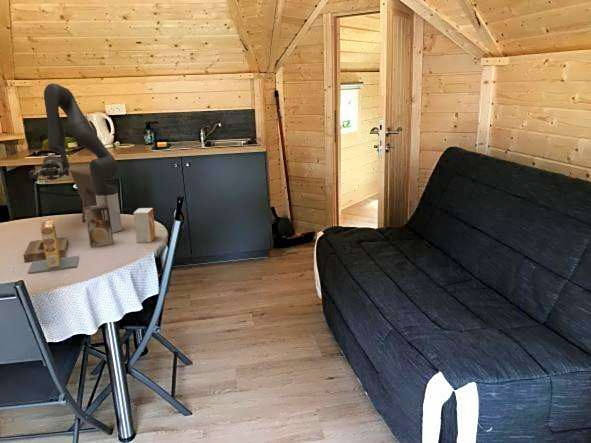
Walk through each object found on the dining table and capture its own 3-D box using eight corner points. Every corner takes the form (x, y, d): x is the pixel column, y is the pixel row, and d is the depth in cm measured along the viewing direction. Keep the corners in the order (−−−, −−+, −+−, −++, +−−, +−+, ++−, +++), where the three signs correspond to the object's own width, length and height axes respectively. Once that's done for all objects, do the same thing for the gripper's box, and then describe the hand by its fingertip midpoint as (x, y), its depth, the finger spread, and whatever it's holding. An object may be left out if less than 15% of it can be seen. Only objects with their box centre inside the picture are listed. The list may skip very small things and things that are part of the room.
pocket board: (68, 243, 202) (67, 236, 201) (65, 257, 185) (64, 249, 185) (31, 248, 197) (30, 241, 196) (24, 262, 181) (23, 254, 180)
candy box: (60, 266, 174) (53, 226, 170) (47, 268, 172) (40, 227, 168) (61, 258, 182) (54, 220, 178) (48, 260, 180) (41, 221, 176)
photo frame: (95, 211, 254) (87, 164, 247) (116, 217, 241) (108, 168, 233) (67, 217, 244) (58, 168, 237) (87, 224, 230) (79, 173, 223)
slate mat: (78, 256, 185) (78, 255, 185) (77, 267, 175) (76, 265, 174) (32, 262, 180) (32, 261, 180) (27, 274, 169) (27, 272, 169)
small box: (151, 242, 201) (148, 212, 197) (136, 242, 201) (132, 212, 197) (156, 236, 209) (153, 207, 205) (141, 236, 209) (138, 208, 205)
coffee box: (112, 240, 205) (107, 203, 201) (114, 244, 200) (109, 206, 196) (89, 243, 201) (83, 206, 197) (90, 247, 196) (84, 209, 191)
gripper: (31, 162, 199) (25, 167, 185) (69, 159, 204) (66, 165, 189) (35, 179, 201) (29, 186, 187) (71, 176, 206) (69, 183, 191)
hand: (47, 175), depth 188 cm, fingers open, 8 cm apart
